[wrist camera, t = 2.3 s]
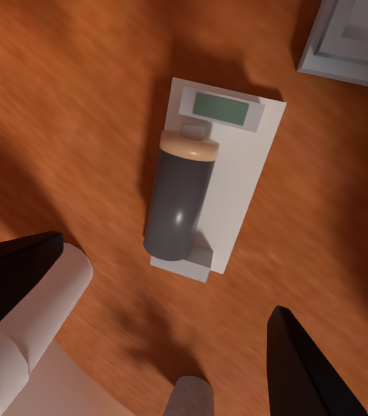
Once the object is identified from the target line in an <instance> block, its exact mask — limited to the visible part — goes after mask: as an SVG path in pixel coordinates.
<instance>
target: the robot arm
mask: <svg viewBox="0 0 368 416" xmlns="http://www.w3.org/2000/svg"><path fill="white" fill-rule="evenodd" d="M63 250H64V237H63V234H62V233H60V232H57V231H49V232H44V233H40V234H35V235H31V236H27V237H22V238H18V239H13V240H9V241H4V242H0V321H1V320H2V319H3V318H4V317H5V316H6V315H7V314H8V313H9V312H10V311H11V310H12V309H13V308H14V307H15V306H16V305H17V304H18V303H19V302H20V301H21V300H22V299H23V298H24V297H25V296H26V295H27V294H28V293H29V292H30V291H31V290H32V289H33V288H34V287H35V286H36V285H37V284H38V283H39V282H40V280H41V279H42V278H43V277H44V276H45V274H46V273H47V272H48V271H49V269H50V268H51V267H52V266H53V265H54V263H55V262H56V261H57V260H58V258H59V257H60V256H61V255H62V253H63ZM267 380H268V392H269V403H270V415H271V416H368V414H367V411H366V410H365V408H364V407H363V406H362V405H361V403H360V402H359V401H358V399H357V398H356V397H355V395H354V394H353V393H352V391H351V390H350V389H349V387H348V386H347V385H346V383H345V382H344V381H343V380H342V378H341V377H340V376H339V374H338V373H337V372H336V370H335V369H334V368H333V366H332V365H331V364H330V362H329V361H328V360H327V358H326V357H325V356H324V354H323V353H322V352H321V351H320V349H319V348H318V347H317V345H316V344H315V343H314V341H313V340H312V339H311V337H310V336H309V335H308V333H307V332H306V331H305V329H304V328H303V327H302V326H301V324H300V323H299V322H298V320H297V319H296V318H295V316H294V315H293V314H292V312H291V311H290V310H289V309H288V308H285V307H282V306H279V305H278V306H276V307H275V309H274V311H273V312H272V314H271V316H270V318H269V320H268V324H267Z"/></svg>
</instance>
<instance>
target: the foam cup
mask: <svg viewBox="0 0 368 416" xmlns="http://www.w3.org/2000/svg"><path fill="white" fill-rule="evenodd" d="M92 276H93V268H92V265H91V263H90V260H89V259H88V257H87V256H86V255H85V254H84V253H83V252H82V251H81V250H80V249H78V248H77V247H75V246H73V245H71V244H69V243H64V250H63V253H62V255H61V256H60V257H59V258H58V260H57V261H56V262H55V263H54V265H53V266H52V267H51V268H50V269H49V271H48V272H47V273H46V274H45V276H44V277H43V278H42V279H41V280H40V282H39V283H38V284H37V285H36V286H35V287H34V288H33V289H32V290H31V291H30V292H29V293H28V294H27V295H26V296H25V297H24V298H23V299H22V300H21V301H20V302H19V303H18V304H17V305H16V306H15V307H14V308H13V309H12V310H11V311H10V312H9V313H8V314H7V315H6V316H5V317H4V318H3V319H2V320H1V321H0V416H1V415H2V414H3V412H4V411H5V410H6V409H7V407H8V406H9V405H10V403H11V402H12V401H13V400H14V398H15V397H16V396H17V395H18V393H19V392H20V391H21V390H22V388H23V387H24V386H25V384H26V383H27V382H28V381H29V375H30V373H31V371H32V370H33V368H34V367H35V365H36V364H37V362H38V361H39V359H40V358H41V356H42V355H43V353H44V352H45V350H46V349H47V347H48V346H49V344H50V342H51V341H52V339H53V338H54V336H55V335H56V333H57V332H58V330H59V329H60V327H61V326H62V324H63V323H64V321H65V320H66V318H67V317H68V315H69V314H70V312H71V310H72V309H73V307H74V306H75V304H76V303H77V301H78V300H79V298H80V297H81V295H82V294H83V292H84V291H85V289H86V288H87V286H88V284H89V283H90V280H91V279H92Z"/></svg>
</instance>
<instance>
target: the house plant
mask: <svg viewBox="0 0 368 416" xmlns="http://www.w3.org/2000/svg"><path fill="white" fill-rule="evenodd" d="M163 416H215V413H214V393H213V390H212V388H211V386H210V385H209V384H208V383H207V382H206V381H204V380H203V379H201V378H198V377H195V376H183V377H180V378H179V379H178V380H177V381H176V384H175V386H174V389H173V391H172V394H171V396H170V399H169V401H168V404H167V407H166V409H165V412H164V414H163Z"/></svg>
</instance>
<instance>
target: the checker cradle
mask: <svg viewBox="0 0 368 416" xmlns="http://www.w3.org/2000/svg"><path fill="white" fill-rule="evenodd" d="M286 104H287V103H285V102H280V101H276V100H271V99H267V98H263V97H258V96H254V95H250V94H245V93H241V92H236V91H232V90H228V89H223V88H219V87H215V86H210V85H206V84H201V83H197V82H193V81H188V80H184V79H180V78H175V77H173V80H172V85H171V91H170V97H169V103H168V109H167V115H166V121H165V127H164V130H173V131H180V130H181V125H182V122H185V123H191V124H195V125H199V126H202V127H205V132H204V136H203V137H205V138H208V139H211V140H214V141H216V142H218V143H219V144H220V146H219V150H218V153H217V157H216V160H215V164H214V168H213V171H212V175H211V179H210V182H209V186H208V189H207V193H206V197H205V200H204V204H203V207H202V211H201V215H200V218H199V222H198V225H197V229H196V233H195V236H194V240H193V243H192V247H191V251H190V254H189V255H188V256H187V257H186V258H184V259H182V260H179V261H164V260H161V259H158V258H155V257H153V256H152V257H151V262H150V265H153V266H156V267H159V268H162V269H165V270H168V271H171V272H174V273H177V274H180V275H183V276H186V277H189V278H192V279H195V280H198V281H201V282H204V283H206V280H207V277H208V274H209V271H210V270H212V271H215V272H218V273H221V274H223V273H224V270H225V268H226V265H227V262H228V260H229V257H230V254H231V251H232V249H233V246H234V243H235V241H236V238H237V235H238V233H239V230H240V227H241V225H242V222H243V219H244V217H245V214H246V211H247V209H248V206H249V203H250V201H251V198H252V195H253V192H254V190H255V187H256V184H257V182H258V179H259V176H260V174H261V171H262V168H263V166H264V163H265V160H266V158H267V155H268V152H269V150H270V147H271V144H272V142H273V139H274V136H275V133H276V131H277V128H278V125H279V123H280V120H281V117H282V115H283V112H284V109H285V107H286ZM144 249H145V248H144Z"/></svg>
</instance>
